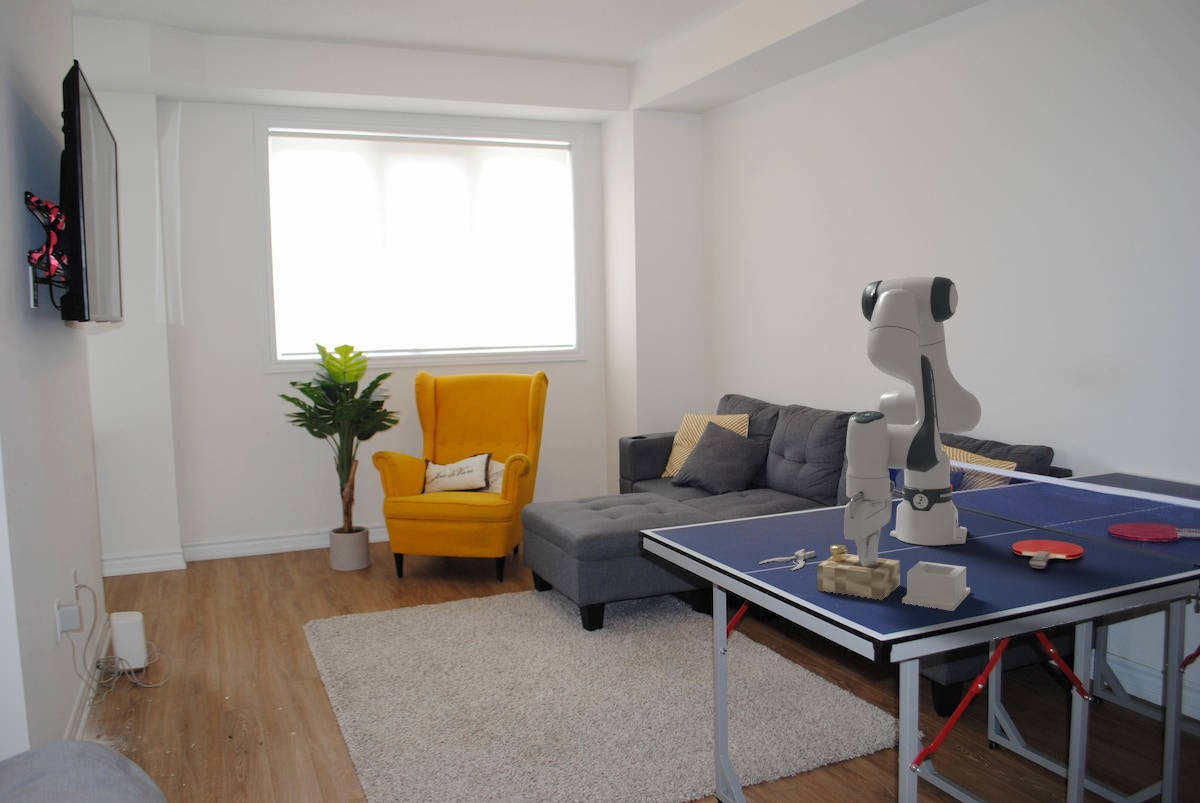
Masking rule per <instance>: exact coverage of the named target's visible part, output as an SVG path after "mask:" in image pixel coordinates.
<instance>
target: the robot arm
mask: <svg viewBox="0 0 1200 803" xmlns="http://www.w3.org/2000/svg"><path fill="white" fill-rule="evenodd" d="M958 294H959V293H958V291H957V287H956V285H955V282H953V280H952V279H950V278H948V277H943V276H935V277H929V276H928V277H927V276H925V277H923V276H912V277H911V276H909V277H905V278H904V277H903V278H896V279H895V278H894V279H889V280H884V281H883V280H876V281H873V282H870V283H869V284H867V285H866V287H865V288H864V289H863V291H862V294H861V302H860V305H861V311H862V314H863V317H864V318H865V320H867V321H868V322H870V323H869V328H868V332H867V333H868V334H867V343H866V350H867V351H866V352H867V356H868V359H869V361H870V362H871V363H872V365H873V366H874V368H876V369H878V370H879V371H880V372H882V373H884V374H885V375H887V376H889V377H893V378H896V379H898V380H900V381H902V382H904V383H907V384H909V385H911V386H912V388H913V389H909V388H908V389H904V388H903V389H894V390H891V391H885V392H883V393H882V394H881V395H880V397H879V398H878V399H877V402H876V405H875V410H865V411H858V412H855V413H854V414H852V415H850V417H849V419H848V423H847V431H846V442H845V444H846V445H845V453H846V454H845V455H846V458H847V459H846V460H847V469H846V473H845V474H846V475H845V478H846V481H845V483H846V485H845V486H846V489H845V490H846V493H845V494H846V497H848V498H849V499H851V500H850V501H849V502H848V503H846V505H845V507H844V508H845V509H844V518H843V536H844V538H845V540H847V541H848V540H849V541H854V543H855V546H856V548H857V552H856V555H858V556H861V557H865V556H866V555H867V554H868V547H867V546H866V541H867V536H869V535H870V534H872V533H876V534H878V548H879V547H880V546H879V542H880V541H879V540H880V536H881V533H882V531H881V529H882V527H884V526H885V525H887V524H889V523H890V521H891V517H892V510H893V509H892V508H893V507H892V506H893V492H895V482H894V481H893V480H891V479H890V471H889V469H895V470H896V469H897V470H898V469H900V470H903V472H904V473H903V474H904V479H903V480H904V483H903V485H902V489H901V490H902V491H901V493H902V499H903V500H902V501H901V502H900V503H898V505H897V507H896V518H895V520H896V521H895V529H894V530H891V531H890V533H889V536H890V537H893V538H896V539H898V540H899V541H902V542H905V543H907V544H913V545H920V546H921V545H922V546H946V545H962V544H966V541H967V535H968V529H967V527H964V526H961V524H960V522H959V512H958V508H957V507H956V505H955V504H954V503H953V501H952V500H953V484H951V483H950V482H951V460H950V457H949V455H948V454H947V453H946V452H945V450H943V445H942V439H941V436H940V434H951V435H952V434H957V433H958V434H959V433H966V432H972V431H973V430H974V429H975V428H976V427H977V425H978V424H979V423H980V420H981V418H982V417H981V416H982V407H981V404H980V402H979V399H978V398H977V397H976V395H974V394H973V393H971V392H970V391H968V390H967V389H966V388H964V387H963V386H962V384H960V383H959V382H958V381H957V379H956V378H955V377H954V375H953V373H952V371H951V368H950V366H949V362H948V356H947V354H948V353H947V348H946V338H945V325H944V321H947V320H949V319H951V318H952V317H953V316H954V314H955V313H956V310H957V307H958V303H959V295H958Z"/></svg>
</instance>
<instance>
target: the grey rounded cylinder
mask: <svg viewBox="0 0 1200 803" xmlns="http://www.w3.org/2000/svg"><path fill="white" fill-rule="evenodd" d="M866 546H867V547H868V554H867V555H866V556H865V557H861V556H858V567H866V568H873V569H877V568H878V558H879V547H878V534H876V533H872V534H870V535H869V536H867V541H866Z"/></svg>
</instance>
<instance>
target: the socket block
mask: <svg viewBox="0 0 1200 803" xmlns="http://www.w3.org/2000/svg"><path fill="white" fill-rule="evenodd" d="M816 569H817V591H818V590H819V591H818V592H824V591H825V592H826V593H831V592H833V594H838V593H841V594H840V595H844V594H848V595H847V596H851V595H855V596H854V597H857V596H860V597H859V598H864V597H867V598H866V599H870V598H872V600H877V599H879V601H884V600H885V599H886V598H887V597H888V596H889V595H891V594H892V593H893V592H894V591H896V590H897V589H898V588H899V587H900V586H901V560H898V559H889V558H882V557H878V568H877V569H873V568H866V567H858V555H857V554H852V553H851V554H850V553H846V554H845V561H844V562H834V561H833V555H831V556H830V557H828V558H826V559H825V560H823V561H822V562H820V563H819V564H818V565H817V567H816ZM899 585H900V586H899ZM898 586H899V587H898ZM897 587H898V588H897ZM896 588H897V589H896ZM892 591H893V592H892ZM825 592H824V593H825ZM891 592H892V593H891ZM890 593H891V594H890ZM885 597H886V598H885ZM884 598H885V599H884ZM883 599H884V600H883Z"/></svg>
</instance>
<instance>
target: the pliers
mask: <svg viewBox="0 0 1200 803" xmlns="http://www.w3.org/2000/svg"><path fill="white" fill-rule="evenodd" d="M793 554H794V555H793V556H788V557H787V556H785V557H774V558H769V559H766V560H762V561H759V562H758V565H759V564H762V565H764V564H763V563H765V564H768V563H767V562H769V563H786V561H789V562H790V561H791V559H793V560H792V564H793V563H794V564H795V565H794V564H793V565H794V566H795V567H793V568H791V569H790V571H791V570H792V571H791V572H794V571H793V570H796V569H798V570H800V568H801V569H803V567H805V565H806V564H805V560H808V559H810V558H813V557H815V556H816V551H814V550H812V551H811V550H810V551H807V552H806V549H805V548H802V549H800V550H797V551H796V552H794V553H793ZM795 560H797V561H796V562H797V563H796V562H795ZM803 560H804V561H803ZM773 561H774V562H773ZM798 563H799V564H798ZM796 565H797V566H796ZM796 571H797V570H796Z"/></svg>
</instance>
